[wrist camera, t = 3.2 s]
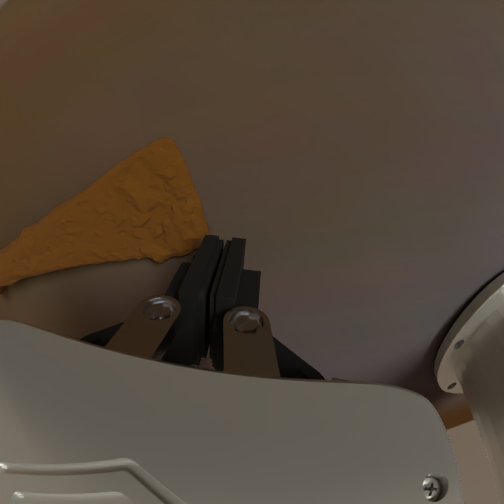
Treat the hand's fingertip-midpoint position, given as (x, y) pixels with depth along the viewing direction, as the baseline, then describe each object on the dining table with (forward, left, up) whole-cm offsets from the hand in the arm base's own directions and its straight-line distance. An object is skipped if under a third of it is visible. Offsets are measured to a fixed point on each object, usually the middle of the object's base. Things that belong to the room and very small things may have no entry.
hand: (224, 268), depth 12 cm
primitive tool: (+10, 0, -2) cm, 11 cm away
